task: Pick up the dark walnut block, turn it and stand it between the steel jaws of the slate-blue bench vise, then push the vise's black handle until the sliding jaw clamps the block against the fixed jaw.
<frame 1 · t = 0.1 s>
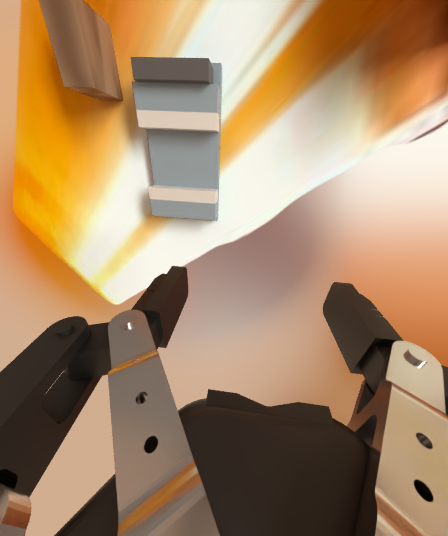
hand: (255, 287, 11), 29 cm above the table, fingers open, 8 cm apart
vise jaw: (176, 98, 27), point 3 cm above the table, slide at 4.5 cm
vise: (187, 173, 35), on the table
walnut block: (104, 65, 28), on the table
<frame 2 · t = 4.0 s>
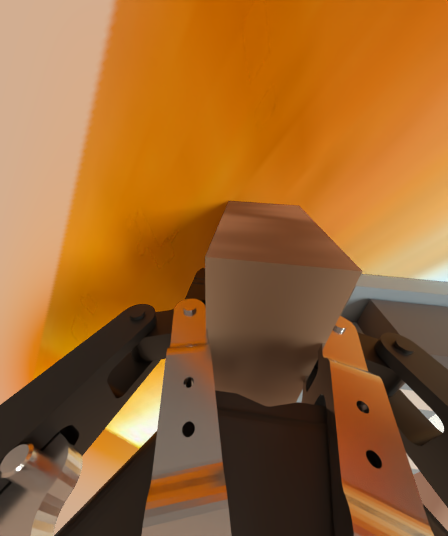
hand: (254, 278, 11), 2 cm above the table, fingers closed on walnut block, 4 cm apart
vise jaw: (447, 372, 11), point 3 cm above the table, slide at 4.5 cm
vise: (353, 392, 19), on the table
walnut block: (254, 263, 13), on the table, touching gripper
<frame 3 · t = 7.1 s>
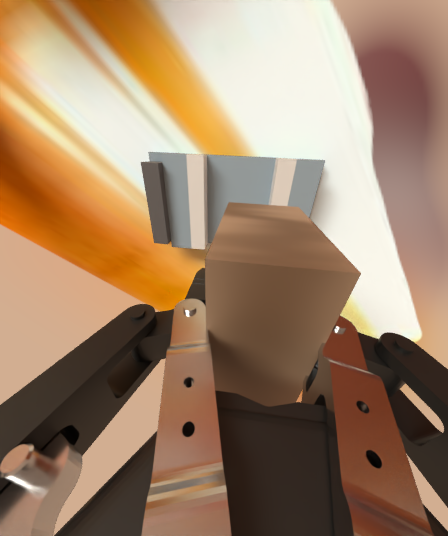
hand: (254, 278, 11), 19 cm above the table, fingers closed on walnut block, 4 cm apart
vise jaw: (179, 205, 25), point 3 cm above the table, slide at 4.5 cm
vise: (251, 204, 28), on the table
walnut block: (254, 264, 13), point 17 cm above the table, touching gripper
when the fingers open (5 cm above the table, at t = 10.1 s): walnut block drops 1 cm, resting on vise.
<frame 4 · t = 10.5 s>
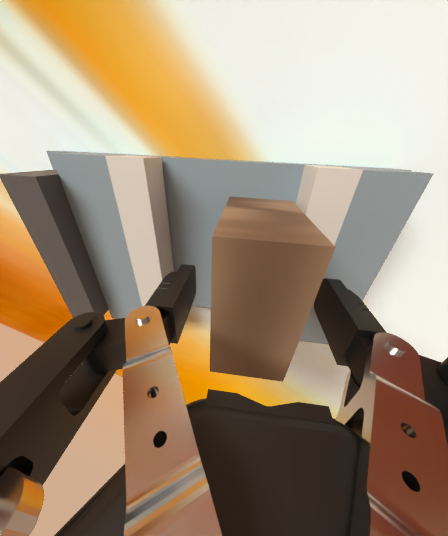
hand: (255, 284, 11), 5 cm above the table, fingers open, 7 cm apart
vise jaw: (113, 254, 13), point 4 cm above the table, slide at 4.5 cm
vise: (253, 245, 15), on the table
walnut block: (252, 253, 14), point 1 cm above the table, touching vise
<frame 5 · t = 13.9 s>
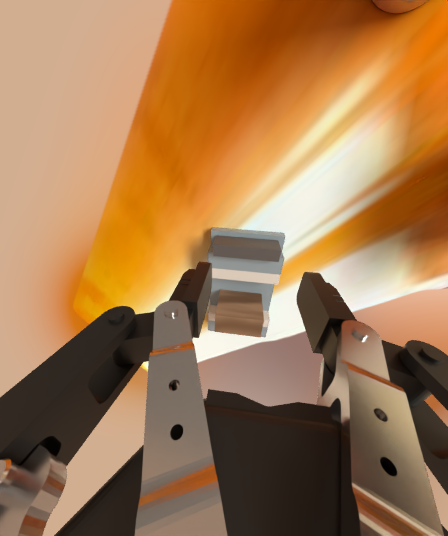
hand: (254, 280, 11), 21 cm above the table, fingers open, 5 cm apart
vise jaw: (244, 261, 31), point 3 cm above the table, slide at 4.5 cm
vise: (240, 294, 39), on the table
walnut block: (239, 299, 38), point 1 cm above the table, touching vise
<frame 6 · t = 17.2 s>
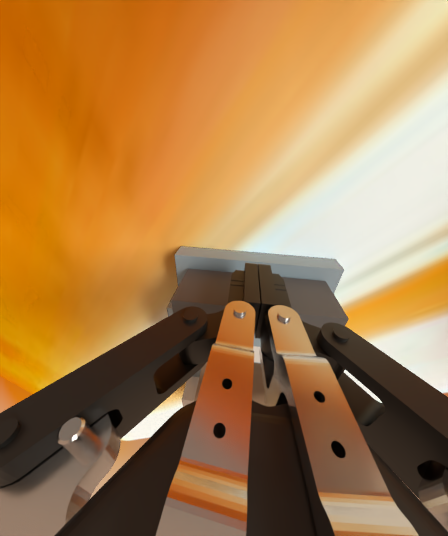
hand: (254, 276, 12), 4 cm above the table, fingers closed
vise jaw: (249, 326, 14), point 4 cm above the table, slide at 4.2 cm, touching gripper
vise: (240, 359, 22), on the table
walnut block: (240, 371, 21), point 1 cm above the table, touching vise
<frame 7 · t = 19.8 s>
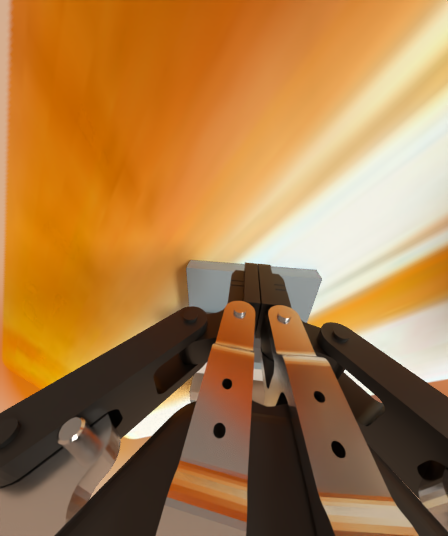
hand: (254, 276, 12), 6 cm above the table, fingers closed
vise jaw: (243, 353, 19), point 3 cm above the table, slide at 0.2 cm, touching walnut block
vise: (240, 356, 25), on the table
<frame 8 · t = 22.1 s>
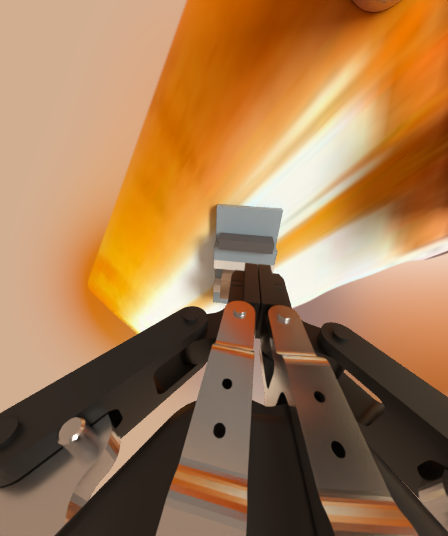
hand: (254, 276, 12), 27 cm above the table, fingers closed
vise jaw: (244, 254, 37), point 3 cm above the table, slide at 0.2 cm, touching walnut block
vise: (242, 269, 43), on the table
walnut block: (242, 272, 42), point 1 cm above the table, touching vise, vise jaw
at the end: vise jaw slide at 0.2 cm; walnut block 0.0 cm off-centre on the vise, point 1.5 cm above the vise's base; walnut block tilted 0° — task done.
